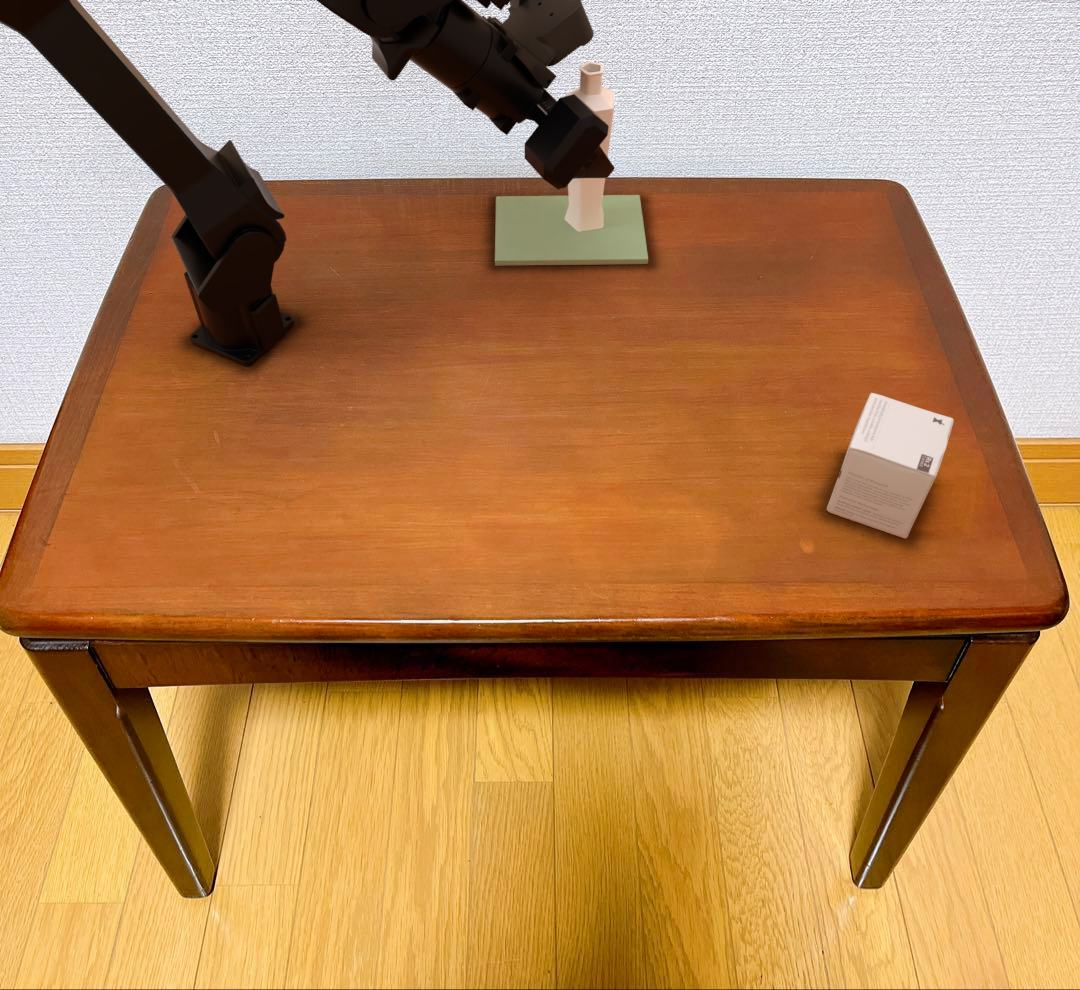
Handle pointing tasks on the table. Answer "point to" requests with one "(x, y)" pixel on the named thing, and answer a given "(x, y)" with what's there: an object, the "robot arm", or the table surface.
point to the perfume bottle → (589, 191)
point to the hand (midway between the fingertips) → (584, 146)
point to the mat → (567, 232)
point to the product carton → (890, 465)
